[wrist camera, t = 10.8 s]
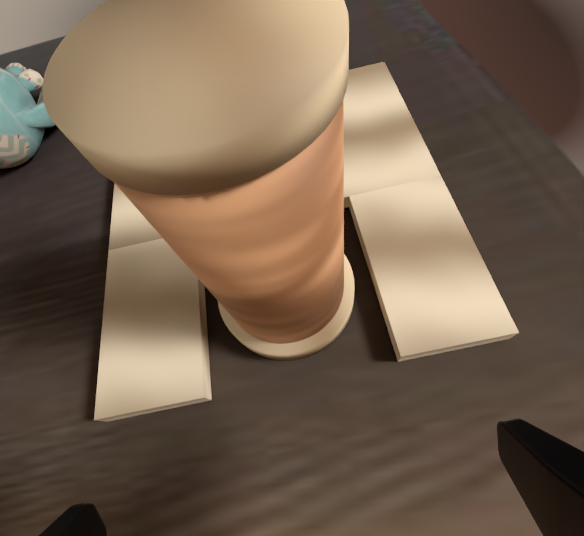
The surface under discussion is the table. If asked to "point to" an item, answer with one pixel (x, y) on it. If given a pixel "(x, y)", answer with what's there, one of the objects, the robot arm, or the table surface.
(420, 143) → the shelf board
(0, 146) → the stuffed animal
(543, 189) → the table surface
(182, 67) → the cord reel
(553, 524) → the robot arm
